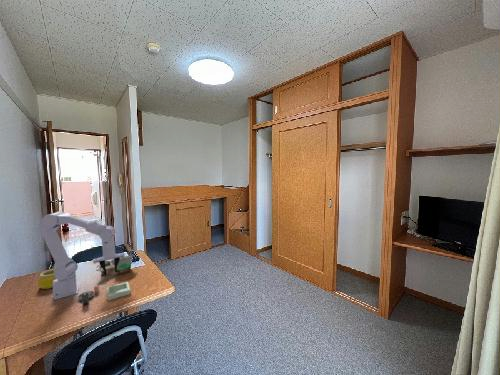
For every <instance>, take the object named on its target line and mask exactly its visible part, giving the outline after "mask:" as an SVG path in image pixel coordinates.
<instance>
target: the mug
mask: <svg viewBox="0 0 500 375" xmlns="http://www.w3.org/2000/svg"><path fill="white" fill-rule="evenodd" d="M54 273H55V272H54V268H51V269H48V270H44V271H43V272H41V273H40V274H39V279H38V287H39V288H40V289H42V290H45V289H46V290H47V289H53V280H56V278H55V276H54Z"/></svg>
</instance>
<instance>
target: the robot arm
mask: <svg viewBox="0 0 500 375" xmlns="http://www.w3.org/2000/svg"><path fill="white" fill-rule="evenodd" d="M40 223H41V228H40V229H41V230H40V232H41V235H42V238H43V240H44V242H45V243H46V246H47V248H48V250H49V252H50V255H51V256H52V258H53V261H54V267H53V269H54V272H55V273H54V276H55V278H56V280H53V288H52V295H53V301H55V300H58V299H63V298H65V297H70V296H73V295H76V294H78V292H79V286H78V285H77V275H76V272H77V270H78V266H79V265H78V263H77V262H75V261H74V260H73V258H71V257H69V256H68V252H66V249H65V247H64V244H63V243H62V241H61V238H60V236H59V234H58V232H57V231H58V229H59V228H60V226H61V225H65V224H66V225H67V224H69V225H73V226H76V227H80V228H83V229H85V231H86V232H87V233H90V234H94V235H95V236H99V238H100V239H101V245H102V246H101V248H102V256H100V257H97V258H93V259H92V262H93V265H95V264H97V263H98V264H100V266H101V267H102V268H103V270H104V273H105V275H106V268H105V261H107V260H112V259H114V264H115V272H116V269H117V265H118V263H119V261H120V258H121V257H126V253H125V252H121V253H116V246H115V244H116V242H115V235H114V234H116V229H115V227H114V226H113V225H106V224H102V223H99V222H98V221H97V220H95V221H92V220H91V221H87V220H84V219H82V218H79V217H77V216H75V215H72V214H71V213H70V212H65V211H63V210H58V211H56V212H54V213H49V214H46V215H44V216H43V217H42V219H41V220H40Z"/></svg>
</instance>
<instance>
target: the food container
mask: <svg viewBox="0 0 500 375" xmlns="http://www.w3.org/2000/svg"><path fill="white" fill-rule="evenodd" d="M132 259H133V255H132V253H131V254H130V255H125V257H120V261H119V263H118V265H117V269H116V272H115V276H122V275H126V274H128V273H129V272H131V270H132ZM111 263H112V264H113V265H114V266H115V264H114V260H112V261H111Z"/></svg>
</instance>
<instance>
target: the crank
mask: <svg viewBox="0 0 500 375" xmlns="http://www.w3.org/2000/svg"><path fill="white" fill-rule="evenodd" d="M94 295H95V293H94V290H88V291H84V292H81V293H79V295H78V296H77V298H78V301H80V302H82V306H88V305H89V304H90V299H92V298H93V297H94Z"/></svg>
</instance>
